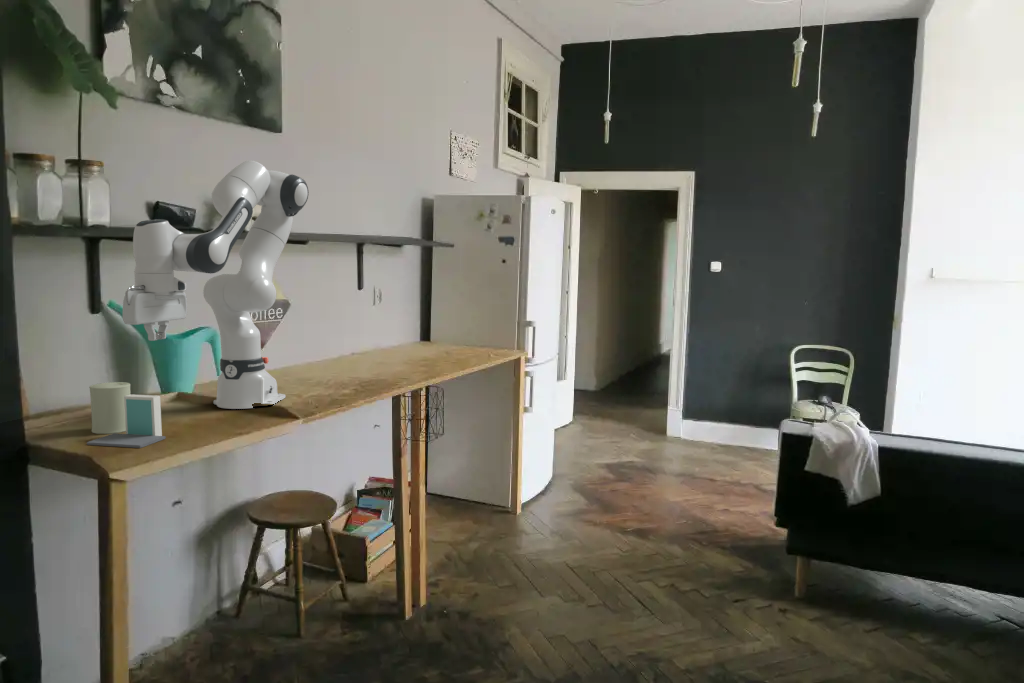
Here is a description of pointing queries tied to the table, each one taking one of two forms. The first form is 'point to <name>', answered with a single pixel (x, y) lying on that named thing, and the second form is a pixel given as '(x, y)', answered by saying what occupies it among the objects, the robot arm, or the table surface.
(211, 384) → the table surface
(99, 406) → the pale green cylinder
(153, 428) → the white box
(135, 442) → the mat
